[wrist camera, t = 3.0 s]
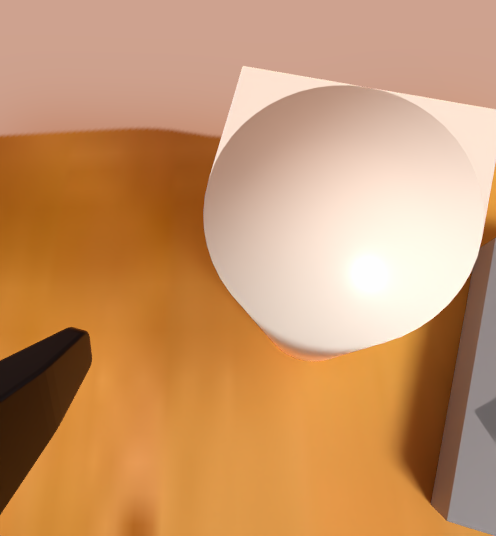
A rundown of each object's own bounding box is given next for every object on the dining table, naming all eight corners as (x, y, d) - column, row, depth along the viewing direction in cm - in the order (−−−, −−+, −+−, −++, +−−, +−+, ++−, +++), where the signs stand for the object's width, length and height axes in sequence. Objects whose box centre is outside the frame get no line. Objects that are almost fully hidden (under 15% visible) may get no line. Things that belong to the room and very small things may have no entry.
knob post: (351, 373, 19) (456, 382, 7) (250, 346, 20) (170, 307, 7) (373, 271, 20) (505, 105, 7) (275, 248, 21) (244, 60, 8)
